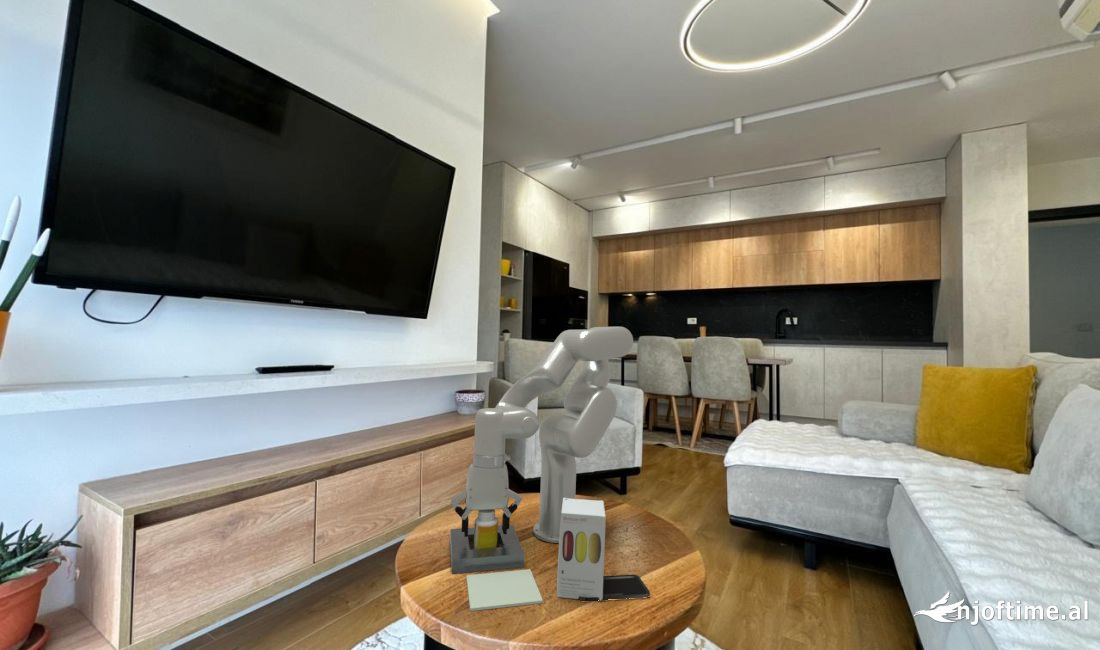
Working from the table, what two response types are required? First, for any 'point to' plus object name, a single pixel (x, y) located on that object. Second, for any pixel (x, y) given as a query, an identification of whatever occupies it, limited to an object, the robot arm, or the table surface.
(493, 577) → the sage mat
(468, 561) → the socket block
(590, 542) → the supplement box
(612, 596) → the phone
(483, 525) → the supplement bottle
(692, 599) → the table surface
